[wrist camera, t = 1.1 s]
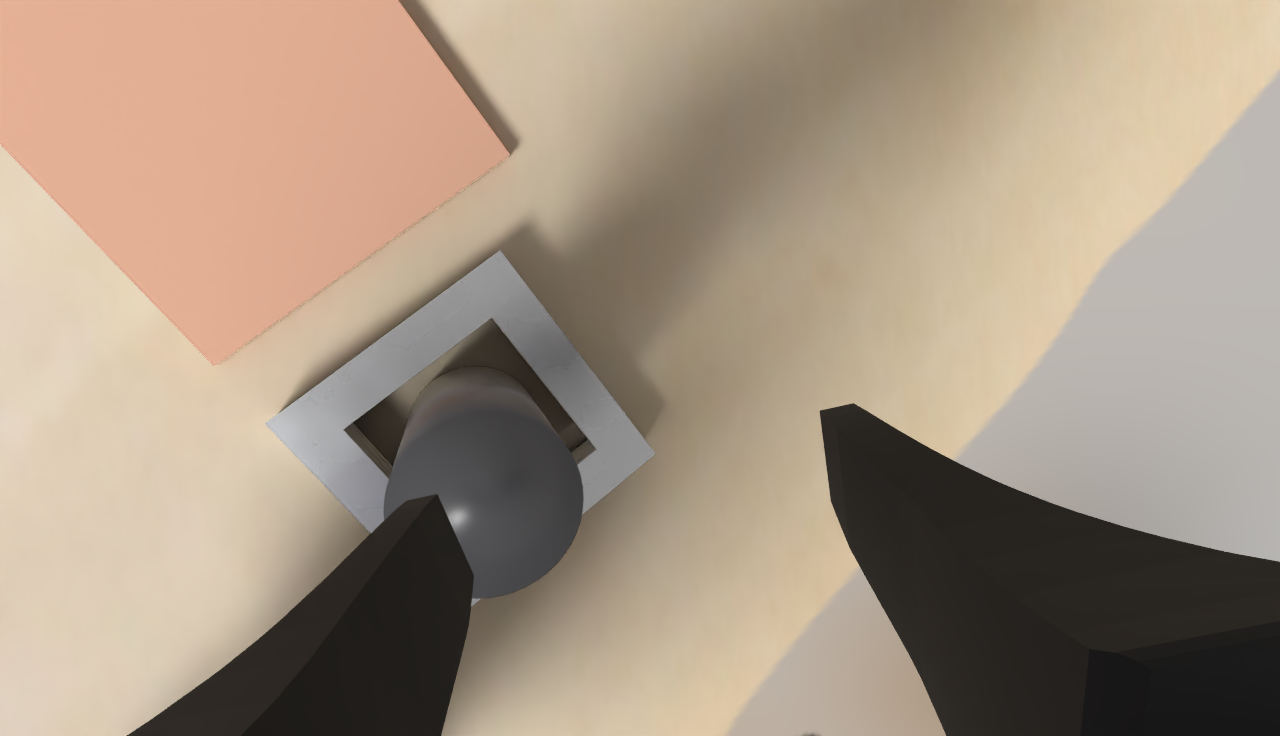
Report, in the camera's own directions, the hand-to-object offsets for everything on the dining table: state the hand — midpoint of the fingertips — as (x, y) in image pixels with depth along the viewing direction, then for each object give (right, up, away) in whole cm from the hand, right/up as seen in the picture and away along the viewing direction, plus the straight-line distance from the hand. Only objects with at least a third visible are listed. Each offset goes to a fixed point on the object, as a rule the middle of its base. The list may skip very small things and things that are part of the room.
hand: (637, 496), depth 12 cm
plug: (-6, 0, +10) cm, 12 cm away
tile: (-12, +10, +7) cm, 17 cm away
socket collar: (-6, 0, +10) cm, 12 cm away
